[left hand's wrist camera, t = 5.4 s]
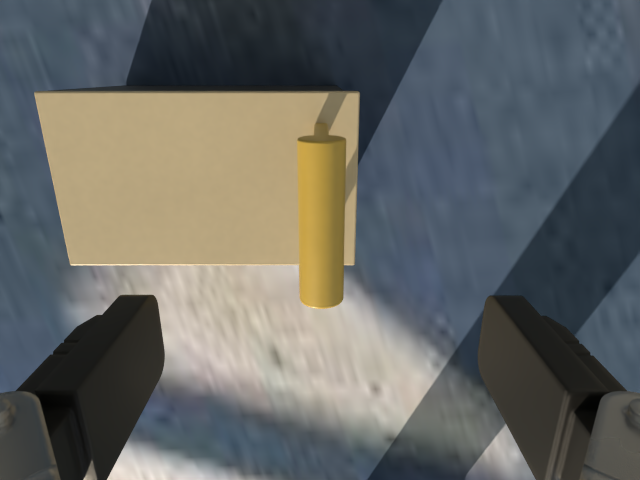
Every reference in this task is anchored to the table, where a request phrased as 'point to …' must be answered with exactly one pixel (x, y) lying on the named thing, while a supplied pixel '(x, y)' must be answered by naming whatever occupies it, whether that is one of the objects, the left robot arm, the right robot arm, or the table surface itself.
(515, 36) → the table surface
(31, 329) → the table surface
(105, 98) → the lid
